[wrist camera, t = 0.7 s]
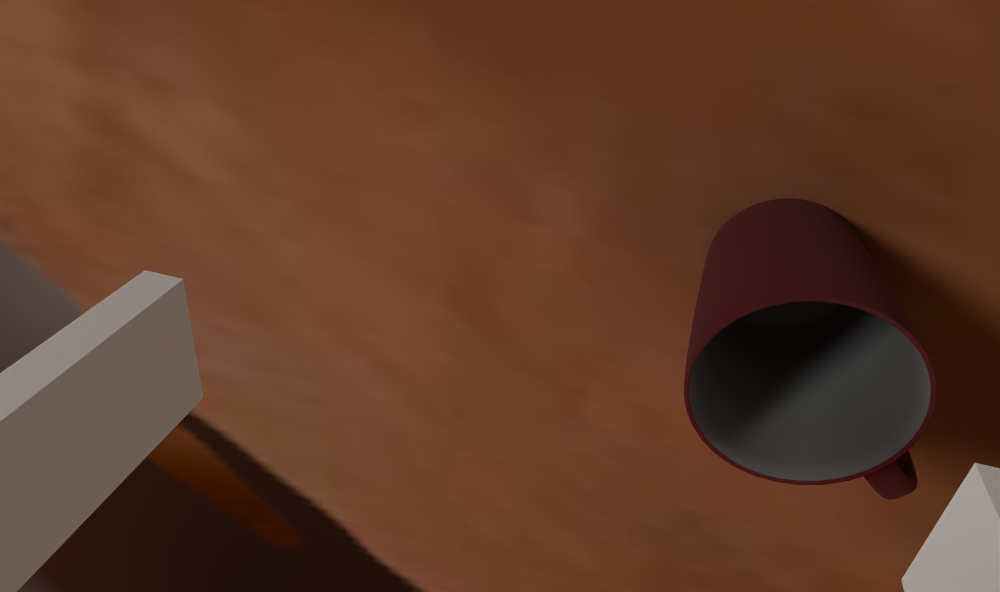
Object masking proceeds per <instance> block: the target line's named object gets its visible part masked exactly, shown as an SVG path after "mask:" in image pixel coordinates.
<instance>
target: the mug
mask: <svg viewBox="0 0 1000 592" xmlns="http://www.w3.org/2000/svg"><path fill="white" fill-rule="evenodd" d="M684 396H685V405H686V409H687V413H688V416H689V418H690V421H691V423H692V425H693V427H694V429H695V430H696V432H697V433H698V435H699V436H700V438H701V439H702V440H703V441H704V443H705V444H706V445H707V446H708V447H709V448H710V449H711V450H712V451H713V452H714V453H715V454H717V455H718V456H719V457H721V458H722V459H723V460H725V461H726V462H728V463H729V464H731V465H732V466H734V467H736V468H738V469H741V470H743V471H745V472H747V473H749V474H751V475H754V476H757V477H761V478H764V479H767V480H771V481H775V482H781V483H788V484H796V485H825V484H831V483H838V482H844V481H849V480H852V479H855V478H859V477H862V476H864V477H865V478H866V480H867V481H868V482H869V484H870V485H871V486H872V487H873V488H874V490H875V491H876V492H877V493H878V494H880V495H881V496H882V497H884V498H885V499H890V500H892V499H896V498H899V497H902V496H904V495H907V494H909V493H911V492H913V491H914V490H915V489H916V487H917V475H916V471H915V468H914V465H913V462H912V459H911V456H910V453H909V451H908V450H909V449H910V448H911V447H912V446H913V445H914V444H915V443H916V441H917V440H918V439H919V438H920V436H921V435H922V434H923V433H924V431H925V430H926V428H927V426H928V424H929V422H930V419H931V417H932V415H933V412H934V408H935V403H936V396H937V385H936V378H935V372H934V369H933V366H932V364H931V361H930V358H929V356H928V354H927V352H926V349H925V347H924V345H923V343H922V341H921V339H920V338H919V336H918V334H917V332H916V330H915V328H914V326H913V324H912V323H911V321H910V319H909V317H908V315H907V314H906V312H905V310H904V309H903V307H902V305H901V304H900V302H899V300H898V299H897V297H896V295H895V294H894V292H893V291H892V289H891V287H890V286H889V284H888V283H887V281H886V280H885V278H884V276H883V275H882V273H881V272H880V270H879V269H878V267H877V266H876V264H875V262H874V261H873V259H872V258H871V256H870V255H869V253H868V252H867V250H866V249H865V247H864V246H863V244H862V243H861V241H860V240H859V238H858V237H857V235H856V234H855V232H854V231H853V230H852V228H851V227H850V225H849V224H848V223H847V222H846V221H845V220H844V219H843V218H842V217H841V216H839V215H838V214H837V213H835V212H834V211H832V210H830V209H829V208H827V207H825V206H822V205H820V204H817V203H814V202H810V201H806V200H800V199H777V200H771V201H766V202H762V203H759V204H756V205H754V206H751V207H749V208H747V209H745V210H743V211H741V212H740V213H738V214H736V215H735V216H734V217H733V218H731V219H730V220H729V221H728V222H727V223H726V224H725V225H724V226H723V227H722V228H721V229H720V230H719V232H718V233H717V235H716V236H715V238H714V240H713V241H712V243H711V246H710V248H709V252H708V255H707V259H706V263H705V267H704V272H703V276H702V281H701V286H700V290H699V295H698V300H697V304H696V309H695V314H694V319H693V324H692V330H691V336H690V341H689V347H688V354H687V362H686V369H685V382H684Z"/></svg>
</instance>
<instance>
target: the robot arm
mask: <svg viewBox="0 0 1000 592" xmlns="http://www.w3.org/2000/svg"><path fill="white" fill-rule="evenodd" d="M202 398H203V393H202V387H201V381H200V376H199V370H198V364H197V358H196V352H195V346H194V340H193V334H192V328H191V323H190V317H189V311H188V305H187V299H186V293H185V287H184V281H183V279H180V278H176V277H172V276H168V275H163V274H159V273H155V272H150V271H146V270H145V271H143V272H142V273H141V274H139V275H138V276H136V277H135V278H134V279H132V280H131V281H129V282H128V283H127V284H125V285H124V286H122V287H121V288H119V289H118V290H117V291H115V292H114V293H112V294H111V295H110V296H108V297H107V298H105V299H104V300H103V301H101V302H100V303H98V304H97V305H96V306H94V307H93V308H91V309H90V310H89V311H87V312H86V313H84V314H83V315H82V316H80V317H79V318H77V319H76V320H74V321H73V322H72V323H70V324H69V325H67V326H66V327H65V328H63V329H62V330H60V331H59V332H58V333H56V334H55V335H53V336H52V337H51V338H49V339H48V340H46V341H45V342H44V343H42V344H41V345H39V346H38V347H36V348H35V349H34V350H32V351H31V352H30V353H28V354H27V355H25V356H24V357H22V358H21V359H20V360H18V361H17V362H15V363H14V364H13V365H11V366H10V367H8V368H7V369H6V370H4V371H3V372H1V373H0V592H17V591H18V590H19V589H20V588H21V587H22V586H23V585H24V583H25V582H26V581H27V580H28V579H29V578H30V577H31V576H32V575H33V574H34V573H35V572H36V571H37V570H38V569H39V568H40V567H41V566H42V565H43V564H44V563H45V562H46V561H47V559H48V558H49V557H50V556H51V555H52V554H53V553H54V552H55V551H56V550H57V549H58V548H59V547H60V546H61V545H62V544H63V543H64V542H65V541H66V540H67V539H68V538H69V537H70V536H71V535H72V534H73V532H74V531H75V530H76V529H77V528H78V527H79V526H80V525H81V524H82V523H83V522H84V521H85V520H86V519H87V518H88V517H89V516H90V515H91V514H92V513H93V512H94V510H96V509H97V507H98V506H99V505H100V504H101V503H102V502H103V501H104V500H105V499H106V498H107V497H108V496H109V495H110V494H111V493H112V492H113V491H114V490H115V489H116V488H117V487H118V486H119V485H120V484H121V483H122V482H123V480H124V479H125V478H126V477H127V476H128V475H129V474H130V473H131V472H132V471H133V470H134V469H135V468H136V467H137V466H138V465H139V464H140V463H141V462H142V461H143V460H144V459H145V458H146V457H147V456H148V454H149V453H150V452H151V451H152V450H153V449H154V448H155V447H156V446H157V445H158V444H159V443H160V442H161V441H162V440H163V439H164V438H165V437H166V436H167V435H168V434H169V433H170V432H171V431H172V430H173V428H174V427H175V426H176V425H177V424H178V423H179V422H180V421H181V420H182V419H183V418H184V417H185V416H186V415H187V414H188V413H189V412H190V411H191V410H192V409H193V408H194V407H195V406H196V405H197V403H198V402H199V401H200V400H201V399H202ZM902 584H903V588H904V592H1000V468H996V467H991V466H987V465H983V464H978V463H974V465H973V467H972V468H971V470H970V471H969V473H968V474H967V476H966V478H965V479H964V481H963V482H962V484H961V486H960V487H959V489H958V490H957V492H956V494H955V495H954V497H953V498H952V500H951V502H950V503H949V505H948V506H947V508H946V510H945V511H944V513H943V514H942V516H941V517H940V519H939V521H938V522H937V524H936V525H935V527H934V529H933V530H932V532H931V533H930V535H929V537H928V538H927V540H926V541H925V543H924V545H923V546H922V548H921V549H920V551H919V552H918V554H917V556H916V557H915V559H914V560H913V562H912V564H911V565H910V567H909V568H908V570H907V572H906V573H905V575H904V576H903V578H902Z"/></svg>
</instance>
